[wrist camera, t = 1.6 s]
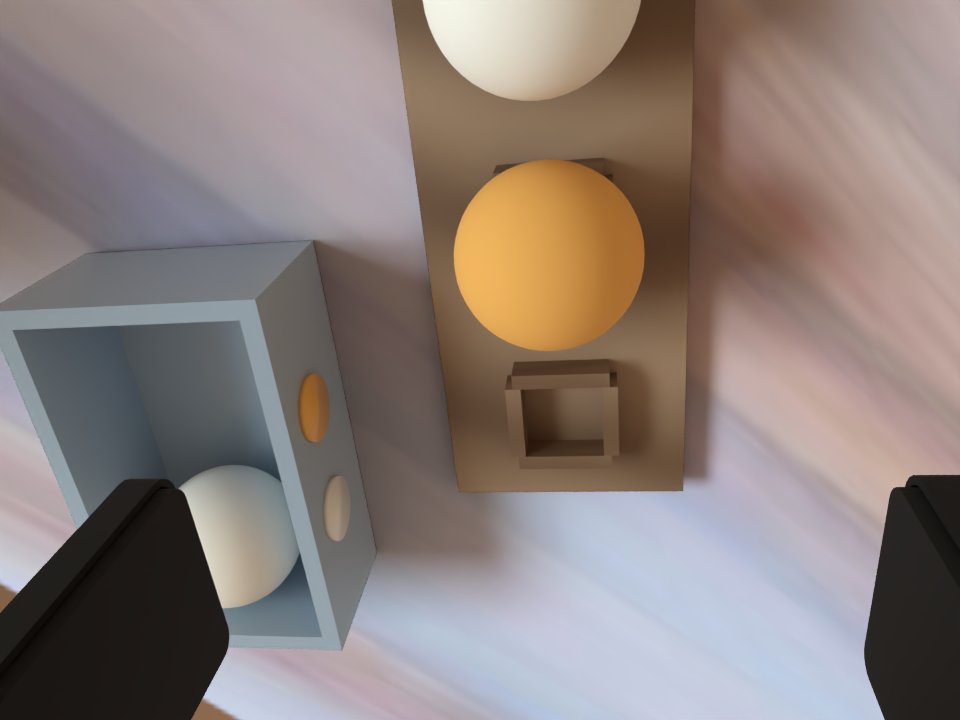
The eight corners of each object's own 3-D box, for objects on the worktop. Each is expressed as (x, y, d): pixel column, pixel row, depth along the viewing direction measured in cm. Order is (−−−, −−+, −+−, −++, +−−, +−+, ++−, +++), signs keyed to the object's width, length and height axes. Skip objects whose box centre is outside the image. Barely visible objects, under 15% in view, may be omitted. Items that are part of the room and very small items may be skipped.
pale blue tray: (85, 253, 26) (-15, 311, 22) (318, 239, 25) (262, 299, 21) (188, 551, 32) (125, 644, 28) (381, 552, 31) (347, 650, 27)
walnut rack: (378, -153, 20) (359, -163, 18) (695, -197, 19) (705, -211, 17) (461, 479, 29) (454, 509, 27) (680, 477, 28) (686, 508, 26)
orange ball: (458, 147, 22) (426, 195, 17) (638, 134, 21) (651, 180, 17) (476, 309, 24) (451, 388, 20) (639, 302, 23) (651, 382, 19)
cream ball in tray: (179, 439, 29) (107, 524, 25) (306, 437, 28) (254, 524, 24) (213, 542, 31) (152, 638, 27) (331, 543, 31) (288, 641, 26)
